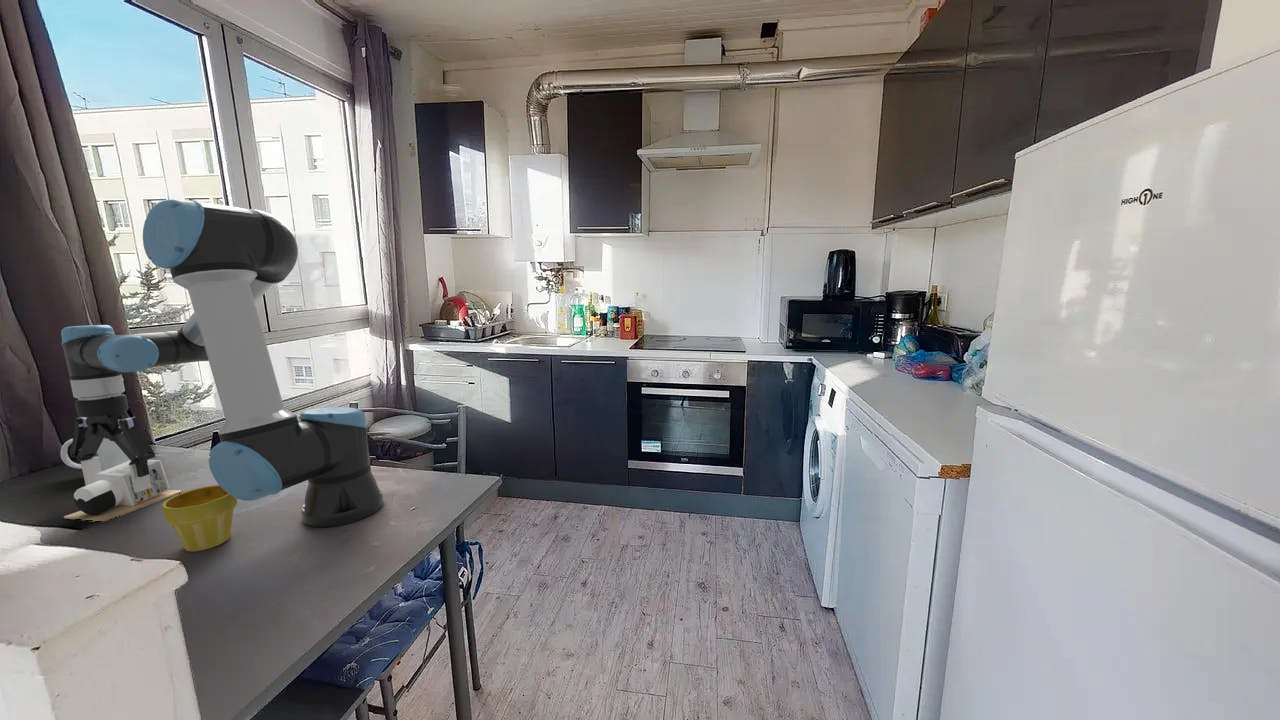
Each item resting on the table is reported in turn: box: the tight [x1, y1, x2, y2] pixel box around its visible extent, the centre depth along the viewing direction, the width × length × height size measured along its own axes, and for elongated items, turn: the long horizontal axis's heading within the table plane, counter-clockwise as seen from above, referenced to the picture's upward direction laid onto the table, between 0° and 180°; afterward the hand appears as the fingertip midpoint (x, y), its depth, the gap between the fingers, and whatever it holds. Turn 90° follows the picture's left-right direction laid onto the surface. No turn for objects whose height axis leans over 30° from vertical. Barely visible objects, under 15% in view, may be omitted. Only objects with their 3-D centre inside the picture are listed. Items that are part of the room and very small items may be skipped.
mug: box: [60, 428, 130, 471], centre depth 126 cm, size 15×11×13 cm
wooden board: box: [63, 488, 184, 523], centre depth 108 cm, size 11×15×1 cm
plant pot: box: [161, 484, 238, 553], centre depth 91 cm, size 10×10×10 cm
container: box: [73, 459, 171, 515], centre depth 106 cm, size 8×8×13 cm
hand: (119, 488), depth 106 cm, fingers open, 13 cm apart
